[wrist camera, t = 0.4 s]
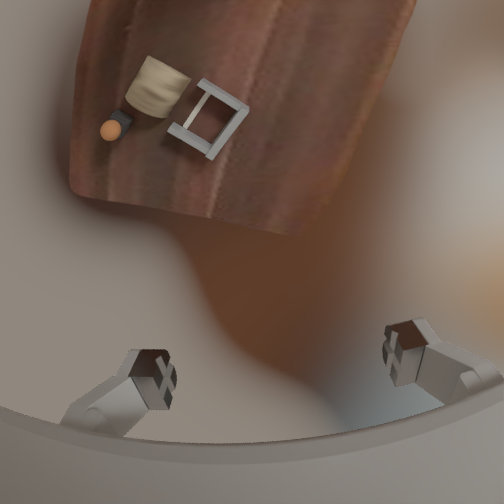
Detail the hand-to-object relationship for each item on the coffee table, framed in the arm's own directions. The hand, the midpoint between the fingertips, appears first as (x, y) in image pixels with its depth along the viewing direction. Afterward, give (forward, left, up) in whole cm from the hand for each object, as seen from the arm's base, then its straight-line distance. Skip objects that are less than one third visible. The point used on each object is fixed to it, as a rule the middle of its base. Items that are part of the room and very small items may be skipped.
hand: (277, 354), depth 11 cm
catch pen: (+9, -4, -51) cm, 52 cm away
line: (+9, -7, -51) cm, 52 cm away
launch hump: (+9, -16, -57) cm, 60 cm away
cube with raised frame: (+19, -19, -51) cm, 57 cm away
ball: (+19, -19, -45) cm, 53 cm away
